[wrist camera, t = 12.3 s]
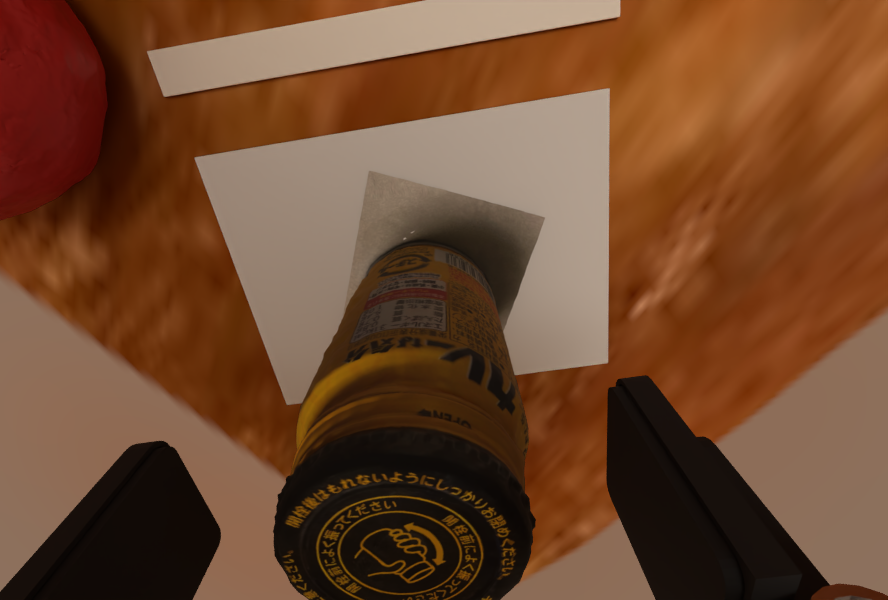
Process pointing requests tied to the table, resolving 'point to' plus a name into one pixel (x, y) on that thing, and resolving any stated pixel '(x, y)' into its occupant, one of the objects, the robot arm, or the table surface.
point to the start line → (362, 39)
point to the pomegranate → (46, 103)
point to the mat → (432, 164)
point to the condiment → (416, 411)
